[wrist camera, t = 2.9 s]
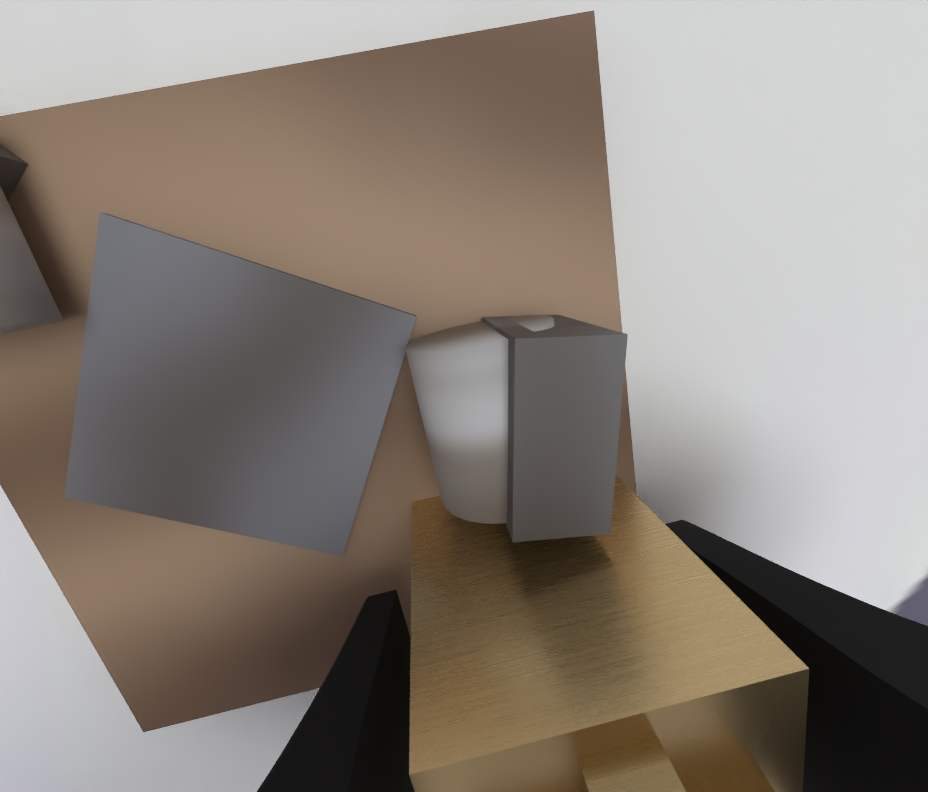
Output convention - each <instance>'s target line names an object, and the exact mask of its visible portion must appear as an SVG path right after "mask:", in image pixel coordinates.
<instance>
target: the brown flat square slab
mask: <svg viewBox="0 0 928 792" xmlns="http://www.w3.org/2000/svg"><path fill="white" fill-rule="evenodd" d="M627 335H628V334H625V333H622V325H621V314H620V303H619V291H618V280H617V268H616V257H615V245H614V234H613V223H612V211H611V200H610V188H609V177H608V165H607V154H606V143H605V131H604V120H603V108H602V97H601V85H600V74H599V63H598V51H597V40H596V28H595V17H594V11H589V12H583V13H577V14H572V15H566V16H561V17H555V18H549V19H544V20H538V21H532V22H527V23H521V24H516V25H510V26H504V27H499V28H493V29H488V30H482V31H476V32H471V33H465V34H460V35H454V36H448V37H443V38H437V39H431V40H426V41H420V42H415V43H409V44H403V45H398V46H392V47H387V48H381V49H375V50H370V51H364V52H359V53H353V54H347V55H342V56H336V57H331V58H325V59H319V60H314V61H308V62H302V63H297V64H291V65H286V66H280V67H274V68H269V69H263V70H258V71H252V72H246V73H241V74H235V75H230V76H224V77H218V78H213V79H207V80H201V81H196V82H190V83H185V84H179V85H173V86H168V87H162V88H157V89H151V90H145V91H140V92H134V93H129V94H123V95H117V96H112V97H106V98H101V99H95V100H89V101H84V102H78V103H72V104H67V105H61V106H56V107H50V108H44V109H39V110H33V111H28V112H22V113H16V114H11V115H5V116H0V485H1V487H2V488H3V490H4V492H5V494H6V495H7V497H8V499H9V500H10V502H11V504H12V506H13V507H14V509H15V511H16V513H17V514H18V516H19V518H20V519H21V521H22V523H23V525H24V526H25V528H26V530H27V532H28V533H29V535H30V537H31V539H32V540H33V542H34V544H35V545H36V547H37V549H38V551H39V552H40V554H41V556H42V558H43V559H44V561H45V563H46V564H47V566H48V568H49V570H50V571H51V573H52V575H53V577H54V578H55V580H56V582H57V583H58V585H59V587H60V589H61V590H62V592H63V594H64V596H65V597H66V599H67V601H68V602H69V604H70V606H71V608H72V609H73V611H74V613H75V615H76V616H77V618H78V620H79V621H80V623H81V625H82V627H83V628H84V630H85V632H86V634H87V635H88V637H89V639H90V640H91V642H92V644H93V646H94V647H95V649H96V651H97V653H98V654H99V656H100V658H101V659H102V661H103V663H104V665H105V666H106V668H107V670H108V672H109V673H110V675H111V677H112V678H113V680H114V682H115V684H116V685H117V687H118V689H119V691H120V692H121V694H122V696H123V697H124V699H125V701H126V703H127V704H128V706H129V708H130V710H131V711H132V713H133V715H134V716H135V718H136V720H137V722H138V723H139V725H140V727H141V729H142V730H143V732H146V731H150V730H154V729H158V728H162V727H166V726H170V725H174V724H178V723H182V722H186V721H190V720H194V719H198V718H202V717H206V716H210V715H214V714H218V713H221V712H225V711H229V710H233V709H237V708H241V707H245V706H249V705H253V704H257V703H261V702H265V701H269V700H273V699H277V698H281V697H285V696H289V695H293V694H297V693H301V692H304V691H308V690H312V689H316V688H320V687H321V685H322V684H323V682H324V680H325V678H326V676H327V674H328V672H329V671H330V669H331V667H332V665H333V663H334V661H335V660H336V658H337V656H338V654H339V652H340V650H341V648H342V646H343V644H344V642H345V640H346V638H347V636H348V634H349V632H350V630H351V628H352V626H353V624H354V622H355V620H356V618H357V616H358V614H359V612H360V610H361V608H362V605H363V603H364V602H365V600H366V599H367V597H368V596H372V595H376V594H380V593H384V592H388V591H392V590H397V594H398V597H399V600H400V604H401V607H402V611H403V614H404V617H405V621H406V624H407V627H408V631H409V634H410V638H411V559H412V502H414V501H419V500H423V499H427V498H431V497H436V496H441V500H442V503H443V505H444V507H445V508H446V509H447V510H448V511H449V512H450V513H451V514H453V515H455V516H457V517H458V518H461V519H464V520H467V521H471V522H477V523H488V524H497V523H506V526H507V528H508V531H509V534H510V537H511V539H512V542H523V541H534V540H546V539H557V538H569V537H581V536H592V535H604V534H611V523H612V511H613V499H614V487H615V476H617V477H618V478H619V479H620V480H621V481H622V482H623V483H624V484H625V485H626V486H627V487H628V488H629V489H630V490H631V491H632V492H633V493H634V494H635V495H636V485H635V474H634V463H633V451H632V440H631V428H630V417H629V405H628V394H627V383H626V371H625V358H626V346H627Z"/></svg>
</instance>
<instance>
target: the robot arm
mask: <svg viewBox="0 0 928 792" xmlns="http://www.w3.org/2000/svg"><path fill="white" fill-rule="evenodd" d="M665 525H666V526H667V527H668V528H669V529H670V530H671V531H672V532H673V533H674V534H675V535H676V536H677V537H678V538H679V539H680V540H681V541H682V542H683V543H684V544H685V545H686V546H687V547H688V548H689V549H690V550H691V551H692V552H693V553H694V554H695V555H696V556H697V557H698V558H699V559H700V560H701V561H702V562H703V563H704V564H705V565H706V566H707V567H708V568H709V569H710V570H711V571H712V572H713V573H714V574H715V575H716V576H717V577H718V578H719V579H720V580H721V581H722V582H723V583H724V584H725V585H726V586H727V587H728V588H729V589H730V590H731V591H732V592H733V593H734V594H735V595H736V596H737V597H738V598H739V599H740V600H741V601H742V602H743V603H744V604H745V605H746V606H747V607H748V608H749V609H750V610H751V611H752V612H753V613H754V614H755V615H756V616H757V617H758V618H759V619H760V620H761V621H762V622H763V623H764V624H765V625H766V626H767V627H768V628H769V629H770V630H771V631H772V632H773V633H774V634H775V635H776V636H777V637H778V638H779V639H780V640H781V641H782V642H783V643H784V644H785V645H786V646H787V647H788V648H789V649H790V650H791V651H792V652H793V653H794V654H795V655H796V656H797V657H798V658H799V659H800V660H801V661H802V662H803V663H804V664H805V665H806V666H807V667H808V668H809V683H808V701H807V719H806V738H805V756H804V774H803V792H928V626H926V625H923V624H920V623H917V622H915V621H912V620H909V619H906V618H903V617H901V616H898V615H896V614H893V613H891V612H888V611H885V610H883V609H880V608H878V607H875V606H873V605H870V604H868V603H865V602H863V601H860V600H858V599H856V598H853V597H851V596H848V595H846V594H844V593H841V592H839V591H836V590H834V589H832V588H829V587H827V586H825V585H822V584H820V583H818V582H815V581H813V580H811V579H809V578H806V577H804V576H802V575H800V574H797V573H795V572H793V571H791V570H789V569H786V568H784V567H782V566H780V565H778V564H776V563H773V562H771V561H769V560H767V559H765V558H763V557H761V556H759V555H756V554H754V553H752V552H750V551H748V550H746V549H744V548H742V547H740V546H738V545H736V544H734V543H731V542H729V541H727V540H725V539H723V538H721V537H719V536H717V535H715V534H713V533H711V532H709V531H706V530H704V529H702V528H700V527H698V526H696V525H694V524H691V523H689V522H687V521H684V520H680V521H676V522H672V523H668V524H665ZM410 652H411V638H410V634H409V631H408V627H407V624H406V621H405V617H404V614H403V611H402V607H401V604H400V600H399V597H398V594H397V590H392V591H388V592H384V593H380V594H376V595H372V596H368V597H367V599H366V600H365V602H364V603H363V605H362V608H361V610H360V612H359V614H358V616H357V618H356V620H355V622H354V624H353V626H352V628H351V630H350V632H349V634H348V636H347V638H346V640H345V642H344V644H343V646H342V648H341V650H340V652H339V654H338V656H337V658H336V660H335V661H334V663H333V665H332V667H331V669H330V671H329V672H328V674H327V676H326V678H325V680H324V682H323V684H322V685H321V687H320V689H319V691H318V693H317V695H316V696H315V698H314V700H313V702H312V703H311V705H310V707H309V708H308V710H307V712H306V714H305V715H304V717H303V719H302V720H301V722H300V724H299V725H298V727H297V729H296V730H295V732H294V734H293V735H292V737H291V739H290V740H289V742H288V744H287V745H286V747H285V749H284V750H283V752H282V754H281V755H280V757H279V758H278V760H277V761H276V763H275V765H274V766H273V768H272V769H271V771H270V772H269V774H268V775H267V777H266V779H265V780H264V782H263V783H262V785H261V786H260V788H259V789H258V791H257V792H415V791H414V788H413V785H412V782H411V779H410V776H409V746H410Z"/></svg>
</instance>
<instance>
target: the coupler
mask: <svg viewBox="0 0 928 792" xmlns="http://www.w3.org/2000/svg"><path fill="white" fill-rule="evenodd" d="M808 683H809V668H808V667H807V666H806V665H805V664H804V663H803V662H802V661H801V660H800V659H799V658H798V657H797V656H796V655H795V654H794V653H793V652H792V651H791V650H790V649H789V648H788V647H787V646H786V645H785V644H784V643H783V642H782V641H781V640H780V639H779V638H778V637H777V636H776V635H775V634H774V633H773V632H772V631H771V630H770V629H769V628H768V627H767V626H766V625H765V624H764V623H763V622H762V621H761V620H760V619H759V618H758V617H757V616H756V615H755V614H754V613H753V612H752V611H751V610H750V609H749V608H748V607H747V606H746V605H745V604H744V603H743V602H742V601H741V600H740V599H739V598H738V597H737V596H736V595H735V594H734V593H733V592H732V591H731V590H730V589H729V588H728V587H727V586H726V585H725V584H724V583H723V582H722V581H721V580H720V579H719V578H718V577H717V576H716V575H715V574H714V573H713V572H712V571H711V570H710V569H709V568H708V567H707V566H706V565H705V564H704V563H703V562H702V561H701V560H700V559H699V558H698V557H697V556H696V555H695V554H694V553H693V552H692V551H691V550H690V549H689V548H688V547H687V546H686V545H685V544H684V543H683V542H682V541H681V540H680V539H679V538H678V537H677V536H676V535H675V534H674V533H673V532H672V531H671V530H670V529H669V528H668V527H667V526H666V525H665V524H664V523H663V522H662V521H661V520H660V519H659V518H658V517H657V516H656V515H655V514H654V513H653V512H652V511H651V510H650V509H649V508H648V507H647V506H646V505H645V504H644V503H643V502H642V501H641V500H640V499H639V498H638V497H637V496H636V495H635V494H634V493H633V492H632V491H631V490H630V489H629V488H628V487H627V486H626V485H625V484H624V483H623V482H622V481H621V480H620V479H619V478H618V477H617V476H615V487H614V499H613V511H612V523H611V534H604V535H592V536H581V537H569V538H557V539H546V540H534V541H523V542H512V539H511V537H510V534H509V531H508V528H507V526H506V523H497V524H488V523H477V522H471V521H467V520H464V519H461V518H458V517H457V516H455V515H453V514H451V513H450V512H449V511H448V510H447V509H446V508H445V507H444V505H443V503H442V500H441V496H436V497H431V498H427V499H423V500H419V501H414V502H412V559H411V652H410V746H409V776H410V779H411V782H412V785H413V788H414V791H415V792H803V774H804V756H805V738H806V719H807V701H808Z"/></svg>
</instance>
